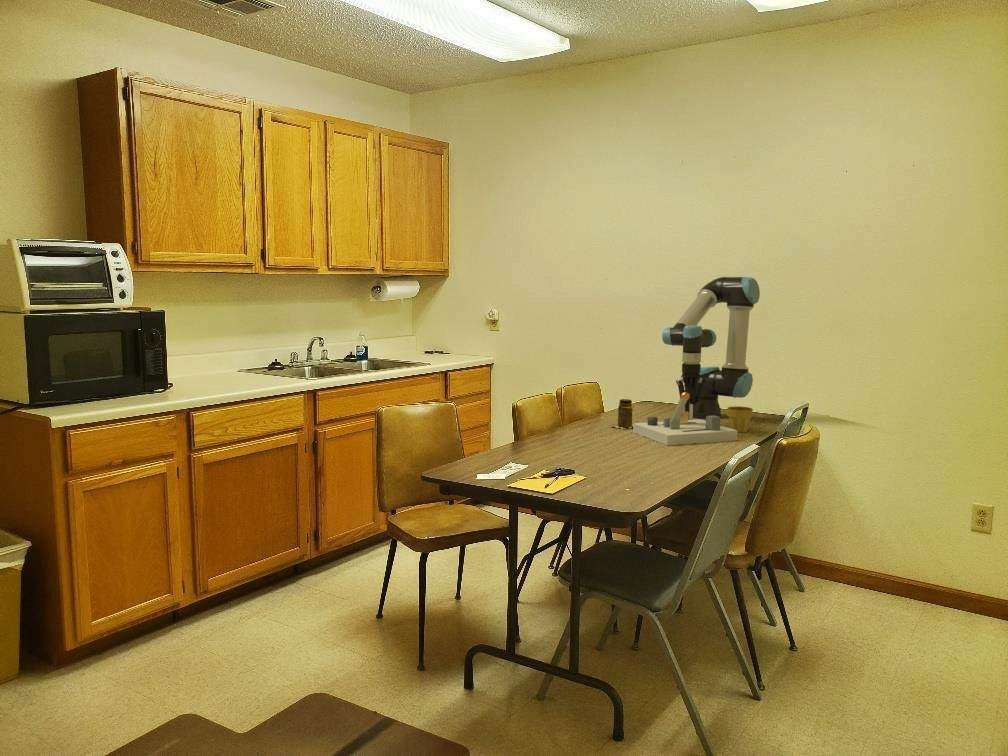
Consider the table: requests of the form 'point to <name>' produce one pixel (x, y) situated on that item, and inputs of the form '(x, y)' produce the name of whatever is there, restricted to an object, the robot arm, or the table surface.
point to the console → (682, 432)
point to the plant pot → (739, 417)
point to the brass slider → (683, 417)
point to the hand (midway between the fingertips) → (689, 419)
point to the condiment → (625, 413)
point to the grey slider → (713, 422)
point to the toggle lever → (680, 406)
